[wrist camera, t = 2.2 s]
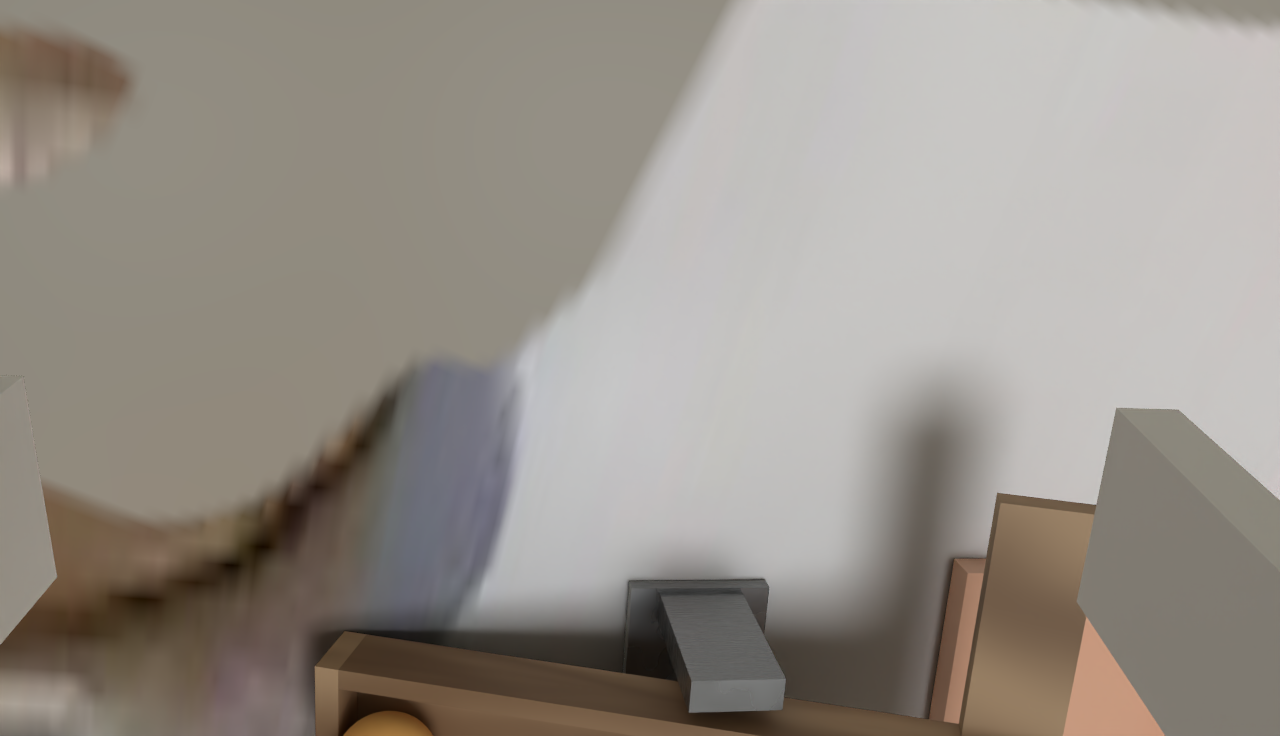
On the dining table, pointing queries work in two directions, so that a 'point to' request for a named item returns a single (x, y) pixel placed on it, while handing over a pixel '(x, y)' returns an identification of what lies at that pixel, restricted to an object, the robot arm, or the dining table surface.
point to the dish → (1101, 694)
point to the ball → (388, 725)
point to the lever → (801, 732)
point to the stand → (705, 642)
